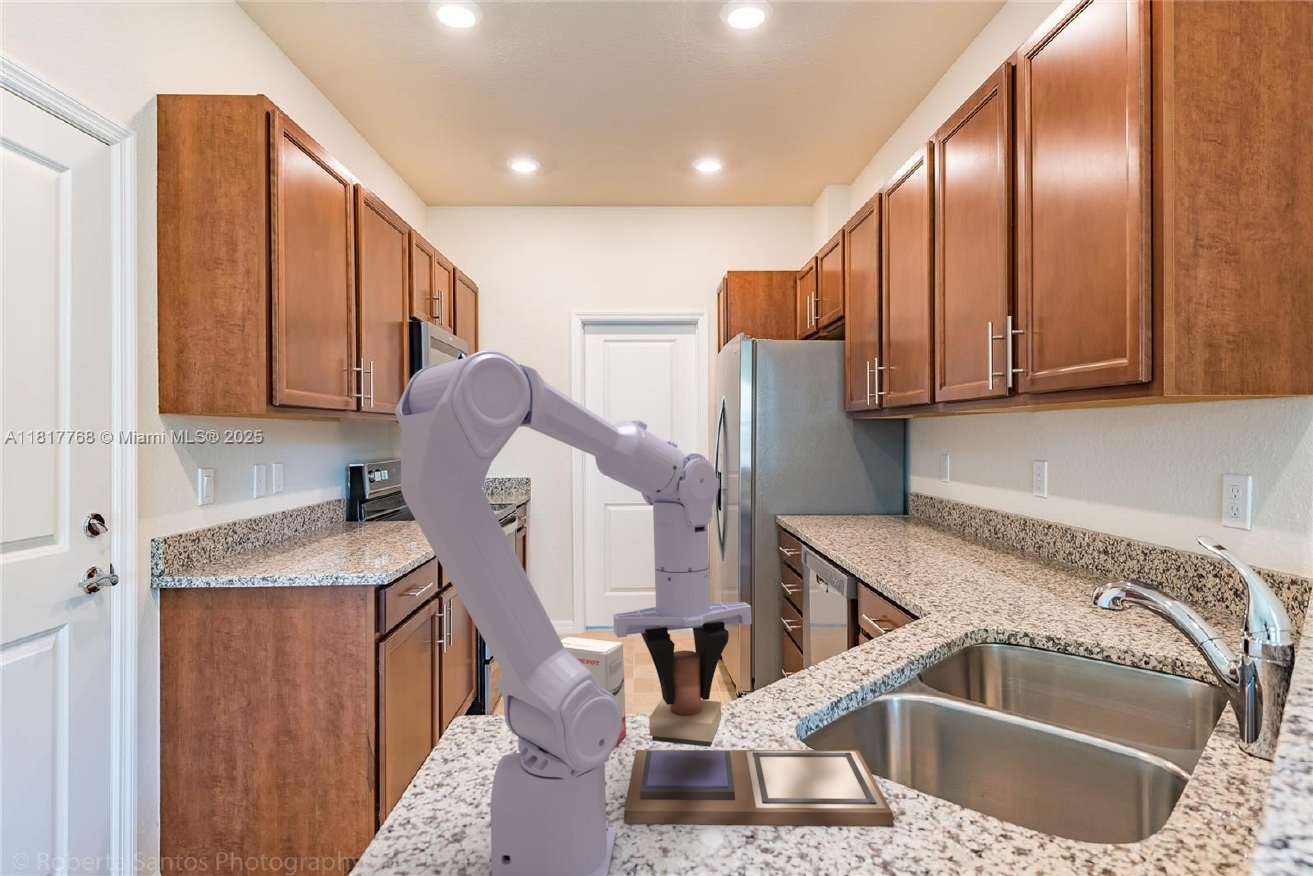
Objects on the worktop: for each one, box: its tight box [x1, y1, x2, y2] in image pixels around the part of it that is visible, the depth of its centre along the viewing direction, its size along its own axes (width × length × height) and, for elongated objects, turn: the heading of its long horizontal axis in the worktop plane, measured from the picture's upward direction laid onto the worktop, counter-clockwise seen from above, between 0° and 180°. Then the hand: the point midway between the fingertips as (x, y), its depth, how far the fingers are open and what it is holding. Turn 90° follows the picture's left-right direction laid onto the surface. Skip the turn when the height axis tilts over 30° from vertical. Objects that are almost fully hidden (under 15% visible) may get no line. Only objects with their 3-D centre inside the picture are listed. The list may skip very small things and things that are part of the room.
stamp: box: [648, 650, 722, 748], centre depth 64 cm, size 6×5×8 cm
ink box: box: [560, 636, 627, 746], centre depth 76 cm, size 8×5×12 cm, turn 66°
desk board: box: [623, 749, 894, 827], centre depth 64 cm, size 25×12×2 cm, turn 87°
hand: (685, 698), depth 64 cm, fingers closed on stamp, 3 cm apart
